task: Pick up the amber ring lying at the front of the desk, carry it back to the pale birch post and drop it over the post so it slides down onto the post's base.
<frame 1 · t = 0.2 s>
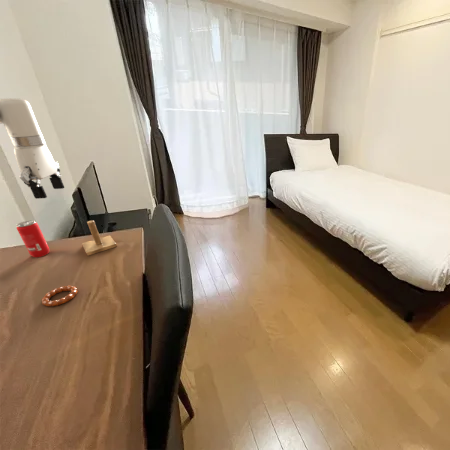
hand: (50, 193, 93), 20 cm above the table, tool pointing down, fingers open, 9 cm apart
beverage can: (41, 254, 95), on the table
ring: (60, 295, 75), point 1 cm above the table
post: (99, 246, 100), on the table
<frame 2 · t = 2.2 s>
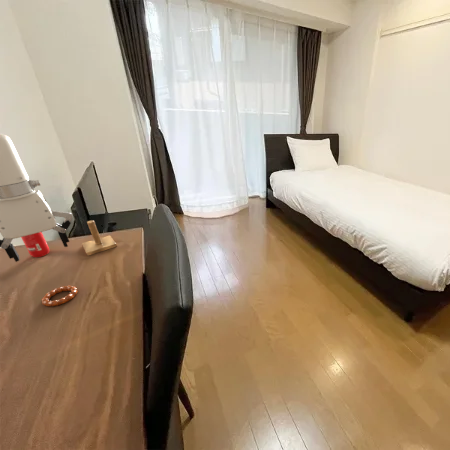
hand: (42, 251, 71), 14 cm above the table, tool pointing down, fingers open, 9 cm apart
nothing on the table moved.
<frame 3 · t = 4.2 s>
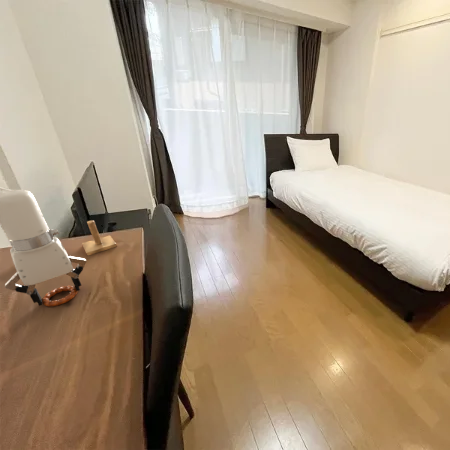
hand: (59, 295, 75), 1 cm above the table, tool pointing down, fingers closed on ring, 7 cm apart
ring: (60, 295, 75), point 1 cm above the table, touching gripper
everything else where it was.
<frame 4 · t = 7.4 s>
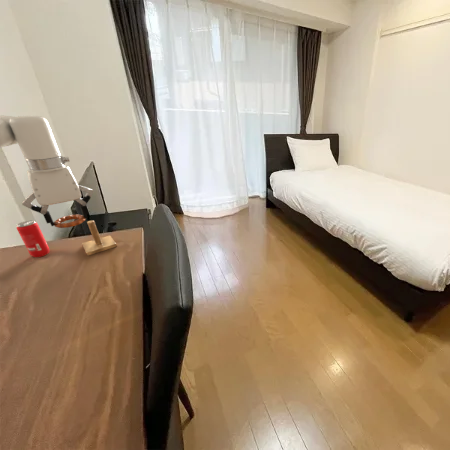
hand: (69, 220, 83), 16 cm above the table, tool pointing down, fingers closed on ring, 7 cm apart
ring: (69, 221, 84), point 16 cm above the table, touching gripper
everything else where it was.
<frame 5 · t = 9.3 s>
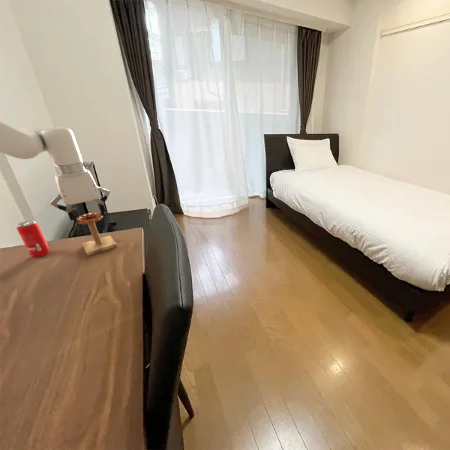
hand: (89, 217, 95), 12 cm above the table, tool pointing down, fingers closed on ring, 7 cm apart
ring: (89, 218, 95), point 11 cm above the table, touching gripper
everything else where it was.
when the fingers open (8 cm above the table, at t = 10.9 s): ring drops 6 cm, resting on post.
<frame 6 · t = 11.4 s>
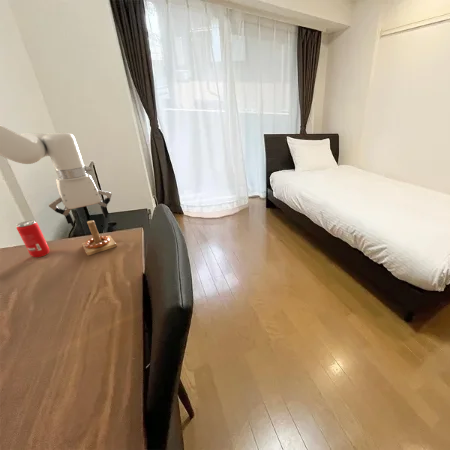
hand: (89, 220, 95), 11 cm above the table, tool pointing down, fingers open, 9 cm apart
ring: (97, 242, 99), point 2 cm above the table, touching post
everything else where it was.
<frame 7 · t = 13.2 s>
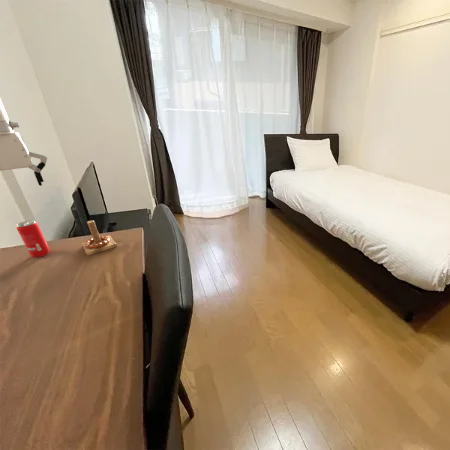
hand: (19, 187, 82), 25 cm above the table, tool pointing down, fingers open, 9 cm apart
nothing on the table moved.
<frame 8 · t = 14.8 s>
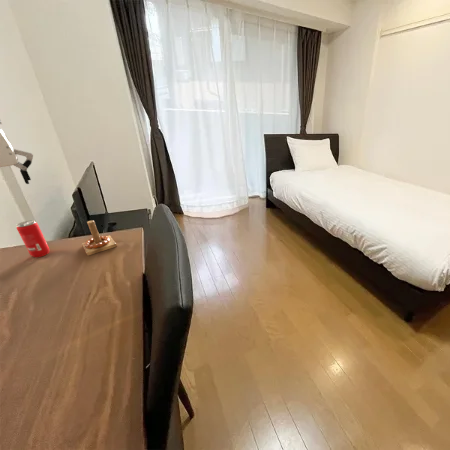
hand: (5, 186, 80), 26 cm above the table, tool pointing down, fingers open, 9 cm apart
nothing on the table moved.
at the end: ring 0.2 cm off-centre on the post, point 1.9 cm above the post's base; the gripper is holding nothing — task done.
